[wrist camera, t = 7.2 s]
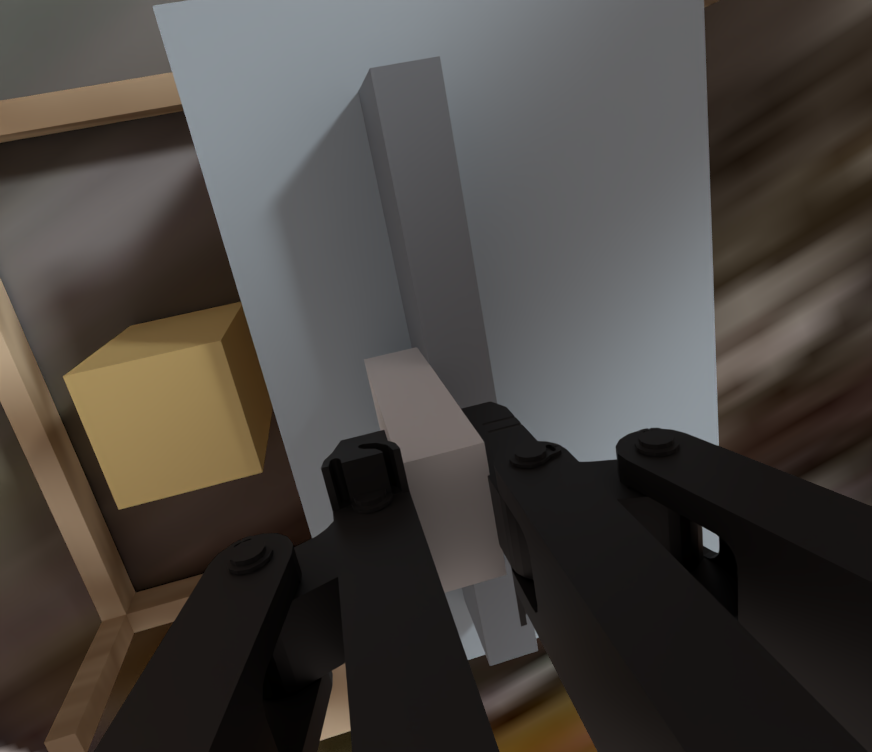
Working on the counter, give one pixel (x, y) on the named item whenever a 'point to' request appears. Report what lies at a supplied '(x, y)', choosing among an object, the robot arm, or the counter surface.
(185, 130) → the counter surface
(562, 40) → the cover
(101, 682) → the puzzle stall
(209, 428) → the ochre block
